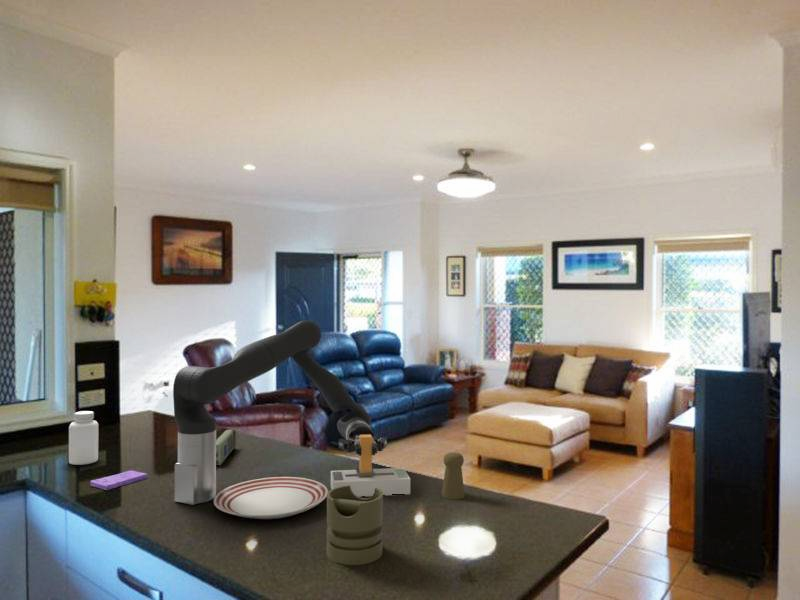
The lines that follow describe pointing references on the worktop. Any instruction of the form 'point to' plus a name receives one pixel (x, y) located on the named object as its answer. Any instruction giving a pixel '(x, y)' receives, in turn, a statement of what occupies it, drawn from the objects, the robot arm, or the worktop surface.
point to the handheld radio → (224, 446)
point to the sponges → (118, 480)
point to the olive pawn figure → (453, 477)
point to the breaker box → (373, 481)
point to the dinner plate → (271, 497)
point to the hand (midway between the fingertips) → (367, 451)
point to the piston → (354, 526)
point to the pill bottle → (83, 439)
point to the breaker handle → (365, 456)
